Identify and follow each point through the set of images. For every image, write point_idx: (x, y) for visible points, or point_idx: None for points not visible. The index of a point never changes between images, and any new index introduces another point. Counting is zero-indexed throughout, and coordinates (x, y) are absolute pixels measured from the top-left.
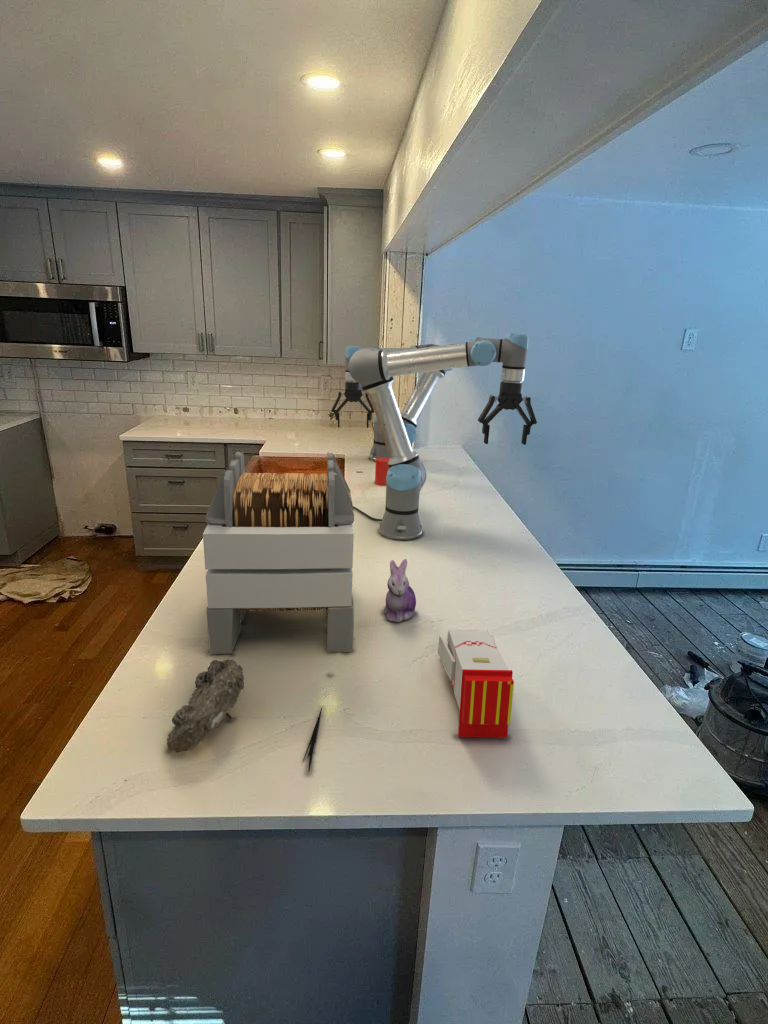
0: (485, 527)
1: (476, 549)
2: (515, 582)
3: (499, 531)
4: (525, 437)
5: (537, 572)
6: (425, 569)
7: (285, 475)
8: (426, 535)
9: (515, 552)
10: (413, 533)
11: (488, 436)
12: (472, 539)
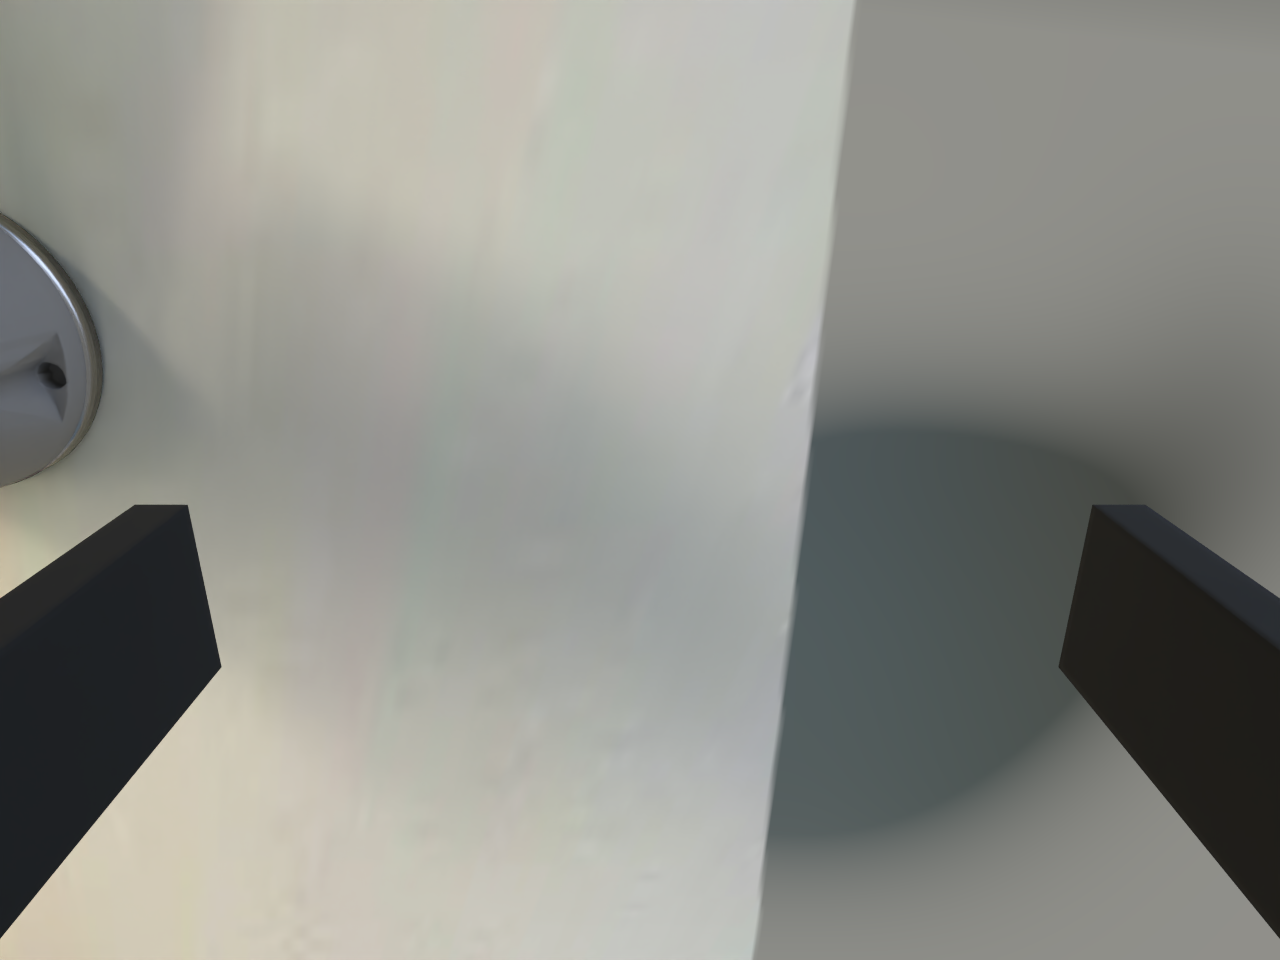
0: (581, 240)
1: (439, 599)
2: (549, 912)
3: (664, 320)
4: (1174, 782)
5: (686, 837)
6: (148, 805)
7: None
8: (138, 393)
9: (657, 637)
10: (25, 476)
11: (118, 786)
12: (441, 458)
